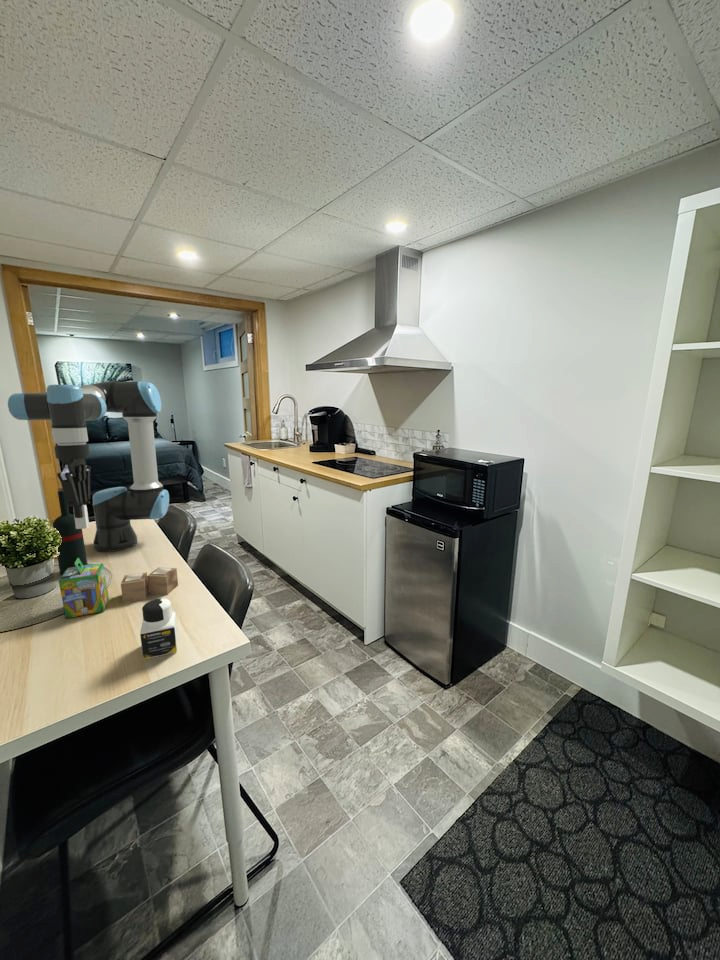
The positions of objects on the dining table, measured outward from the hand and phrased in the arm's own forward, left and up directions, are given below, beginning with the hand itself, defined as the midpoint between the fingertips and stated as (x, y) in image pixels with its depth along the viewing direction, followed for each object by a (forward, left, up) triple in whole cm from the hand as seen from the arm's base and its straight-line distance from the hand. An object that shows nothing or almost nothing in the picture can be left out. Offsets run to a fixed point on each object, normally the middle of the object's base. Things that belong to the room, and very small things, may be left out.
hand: (82, 527), depth 109 cm
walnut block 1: (-3, +11, -23) cm, 26 cm away
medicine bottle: (+25, +26, -24) cm, 43 cm away
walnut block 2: (-6, +18, -23) cm, 30 cm away
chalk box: (+2, 0, -24) cm, 24 cm away
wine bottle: (-25, -16, -24) cm, 38 cm away
